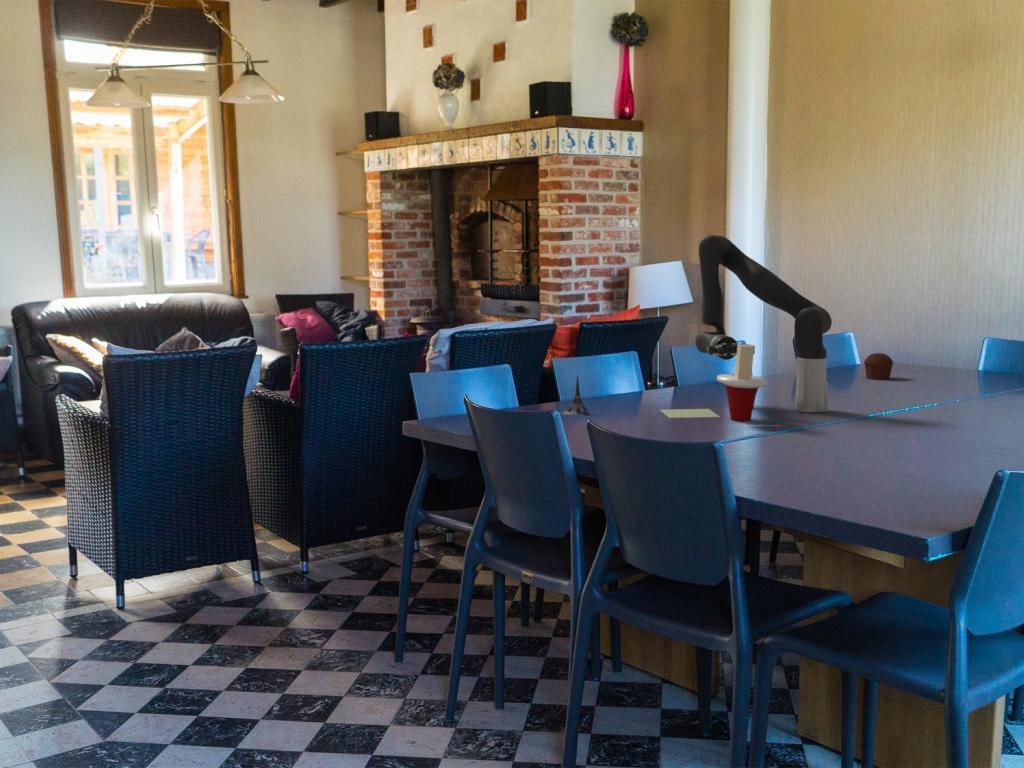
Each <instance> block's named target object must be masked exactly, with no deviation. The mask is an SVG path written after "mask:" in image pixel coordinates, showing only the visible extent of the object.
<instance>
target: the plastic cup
mask: <svg viewBox="0 0 1024 768" xmlns="http://www.w3.org/2000/svg"><path fill="white" fill-rule="evenodd" d="M723 384H724V386H725V390H726V396H727V403H728V411H729V417H730V420H731V421H733V422H741V423H742V422H750V421H751V420H752V415H753V411H754V406H755V401H756V396H757V394H758V390H759V389H760V387H747V386H737V385H730V384H725V383H723Z"/></svg>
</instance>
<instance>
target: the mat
mask: <svg viewBox="0 0 1024 768" xmlns="http://www.w3.org/2000/svg"><path fill="white" fill-rule="evenodd" d="M659 411H660V412H662V413H663V414H664V415H665V416H666V417H667V418H669V419H673V418H674V419H679V418H680V419H682V418H685V419H686V418H721V416H720V415H719V414H717V413H715V412H714V411H712V410H711V409H709V408H689V409H688V408H687V409H686V408H685V409H684V408H683V409H682V408H681V409H679V408H678V409H659Z"/></svg>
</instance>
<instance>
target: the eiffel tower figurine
mask: <svg viewBox="0 0 1024 768" xmlns="http://www.w3.org/2000/svg"><path fill="white" fill-rule="evenodd" d="M578 374H579V373H578V372H577V375H576V376H575V377H576V382H575V383H576V387H575V395H574V398H573V401H572V402H571V405H570V406H569V407H568V408H569V409H567V411H566V410H564V412H563V414H562V413H561V411H560V412H559V414H560V413H561V415H566V416H573V415H574V414H575V415H578V413H579V414H581V416H584V415H583V414H586V413H590V412H589V410H588V409H587V408H586V405H585V404H584V402H583V401H582V398H581V393H580V384H579V376H578ZM564 408H565V407H563V408H562V409H564ZM573 408H575V410H572V409H573ZM580 408H582V409H583V410H581V409H580Z"/></svg>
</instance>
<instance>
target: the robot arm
mask: <svg viewBox="0 0 1024 768" xmlns="http://www.w3.org/2000/svg"><path fill="white" fill-rule="evenodd" d="M698 259H699V264H700V265H699V266H700V276H701V286H702V289H701V290H702V305H701V306H702V307H701V308H702V309H701V322H702V324H703V325H706V326H711V327H714V328H715V331H702V332H699V334H698V335H697V336H696V337H695V342H694V343H695V347H696V349H697V351H698V352H700V353H701V354H708V355H711V356H713V355H714V356H715V357H716V358H718V359H722V360H726V361H728V360H731V359H734V357H736V356H737V346H738V344H739V345H745V344H744V343H738V342H737V340H736V339H735V338H734V337H732V336H729V335H727V334H726V329H725V323H724V297H723V296H724V294H723V291H722V288H721V287H722V286H721V283H720V276H719V274H720V272H719V269H720V268H719V267H720V265H721V266H722V267H724V268H726V269H727V270H729V271H730V272H732V273H733V274H734V275H735V276H736V277H737V278H738V280H739V281H740V282H741V284H742V285H743V286H744V287H745V288H746V290H748V291H749V292H750V294H752V295H753V296H755V297H756V298H757V299H759V300H761V301H762V302H764V303H766V304H767V305H770V306H771V307H774V308H776V309H779V310H781V311H783V312H785V313H787V314H789V315H790V316H791V317H793V318H794V319H795V320H794V334H793V335H794V348H795V349H794V350H795V351H796V370H795V371H796V372H795V373H796V374H795V375H796V376H795V404H794V405H795V407H794V408H795V409H794V410H795V411H796V412H799V413H800V412H801V413H823V412H825V413H827V412H828V404H829V403H828V399H829V392H828V391H829V382H828V381H827V355H828V354H827V353H828V352H827V351H828V349H827V348H826V347H825V346H824V342H823V336H824V335H825V334H826V333H828V332H829V331H830V329H831V328H832V324H833V323H832V321H833V319H832V317H831V315H830V312H828V311H827V310H826V309H825V308H823V307H822V306H820V305H818V304H817V303H815V302H813V301H811V300H810V299H808V298H806V297H804V295H802V294H800V293H799V292H798V291H797V290H795V288H793V287H792V286H790V285H789V284H788V283H786V282H785V281H784V280H783V279H781V278H780V277H779V276H778V275H777V274H775V273H773V272H772V271H770V270H769V269H768V268H766V267H765V266H763V265H762V264H760V263H759V262H757V261H756V260H755V259H753V258H751V257H750V256H748V255H747V254H746V253H744V252H743V251H742V250H741V249H739V247H737V245H735V244H734V243H733V242H732V241H731V240H730V239H729V238H728V237H726V236H723V235H716V234H711V235H710V234H709V235H706V236H704V237H703V238H702V239H700V242H699V244H698ZM746 345H751V346H753V347H754V355H755V353H756V352H755V349H756V346H755V345H752V344H748V343H747V344H746Z"/></svg>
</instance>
